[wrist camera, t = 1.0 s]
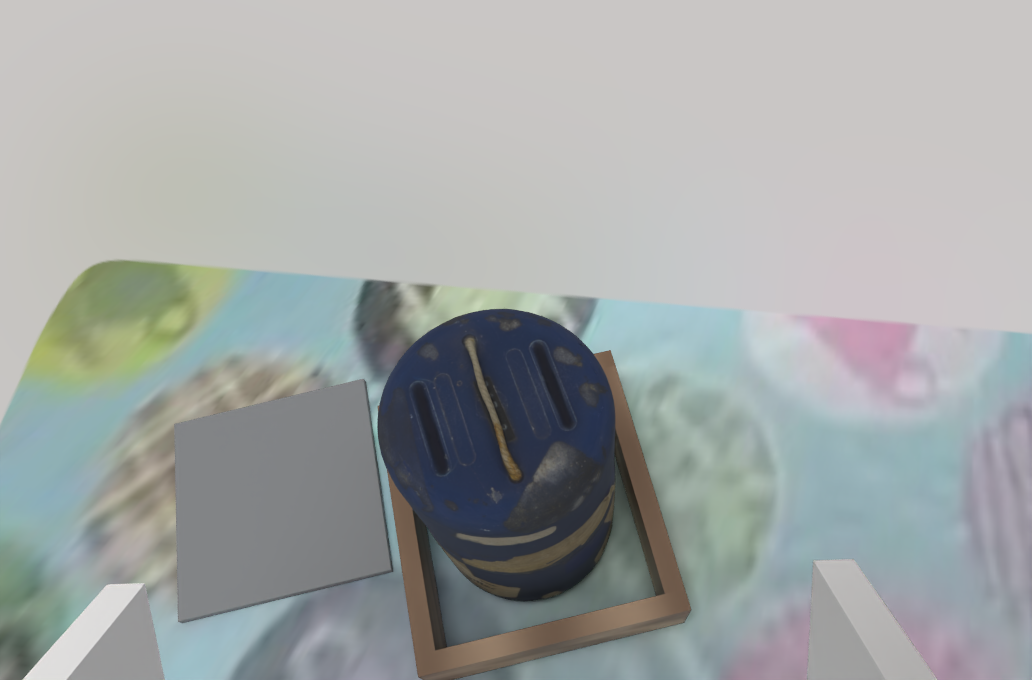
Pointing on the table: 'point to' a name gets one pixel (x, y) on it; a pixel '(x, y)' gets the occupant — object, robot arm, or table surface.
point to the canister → (505, 449)
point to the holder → (560, 635)
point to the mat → (277, 501)
